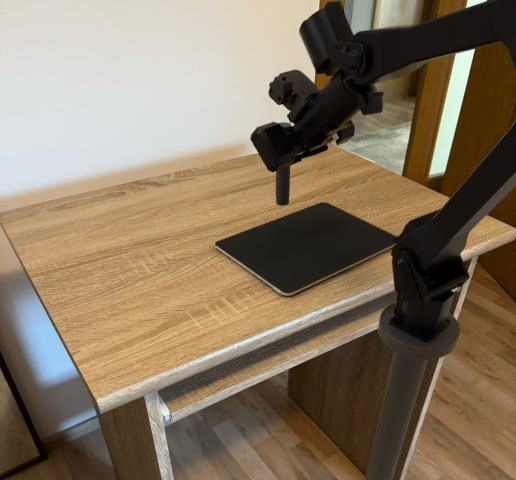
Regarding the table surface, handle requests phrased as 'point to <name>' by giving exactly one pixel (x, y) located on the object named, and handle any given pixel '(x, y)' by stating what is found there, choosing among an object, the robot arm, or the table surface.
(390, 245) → the tablet
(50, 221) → the table surface
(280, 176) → the teal capped marker
